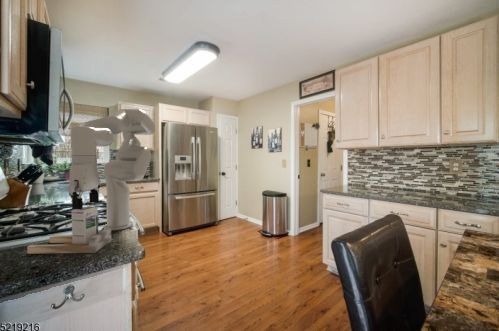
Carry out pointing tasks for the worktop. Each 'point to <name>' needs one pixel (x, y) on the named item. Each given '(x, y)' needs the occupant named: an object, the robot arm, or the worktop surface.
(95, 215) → the syrup box
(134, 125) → the robot arm
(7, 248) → the worktop surface
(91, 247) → the rail channel
